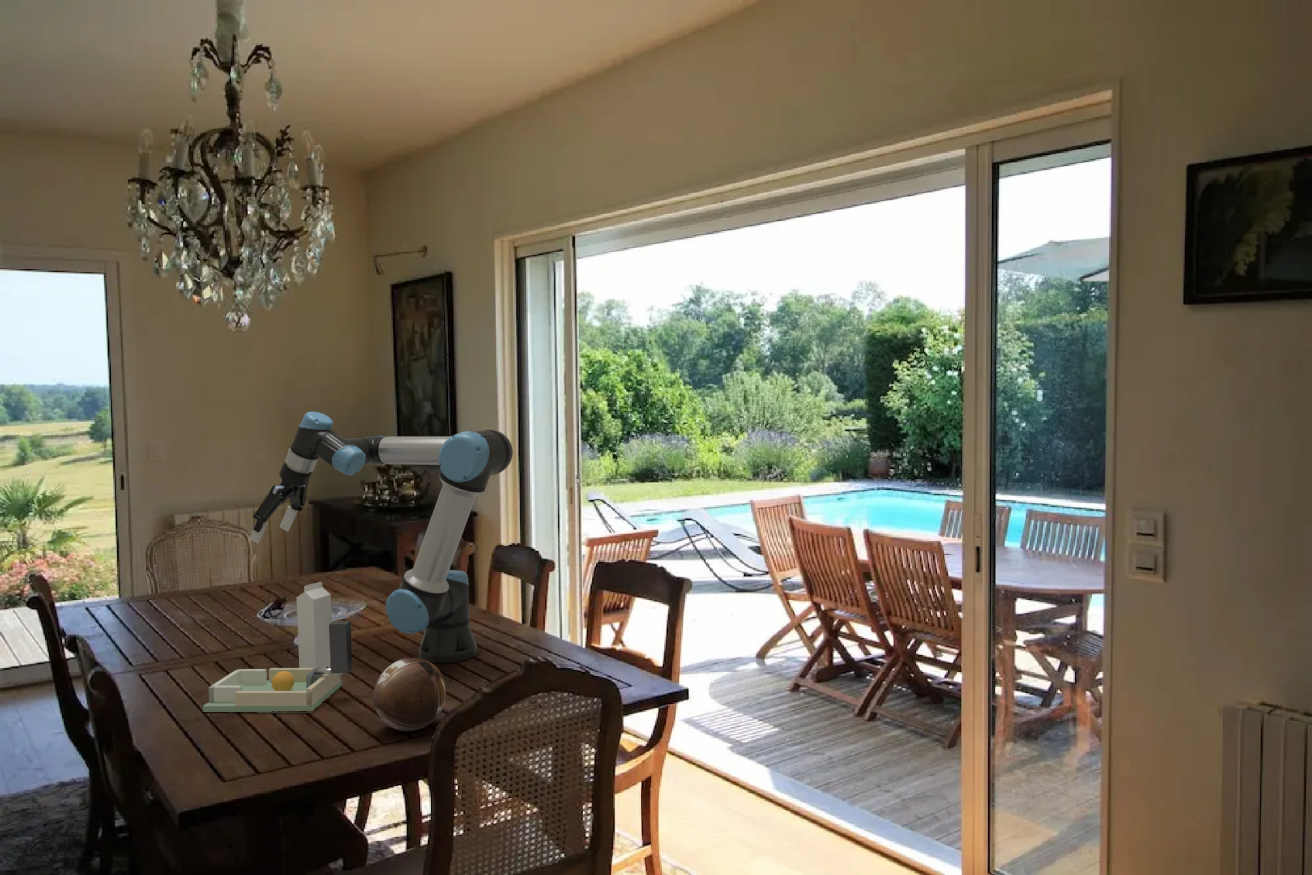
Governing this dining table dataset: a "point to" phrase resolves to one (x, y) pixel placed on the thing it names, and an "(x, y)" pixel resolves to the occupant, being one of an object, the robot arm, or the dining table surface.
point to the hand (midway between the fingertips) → (269, 534)
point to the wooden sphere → (410, 694)
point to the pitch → (269, 691)
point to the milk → (314, 626)
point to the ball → (283, 681)
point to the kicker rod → (336, 652)
